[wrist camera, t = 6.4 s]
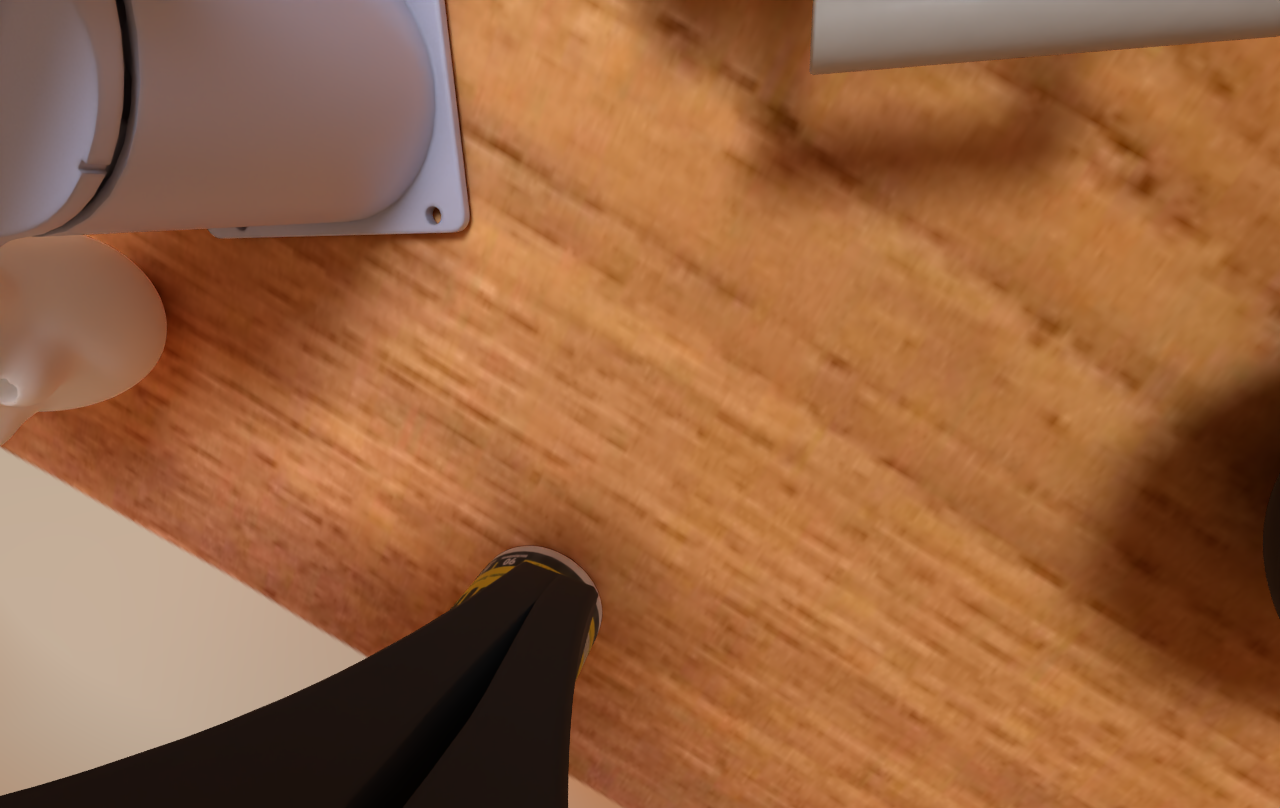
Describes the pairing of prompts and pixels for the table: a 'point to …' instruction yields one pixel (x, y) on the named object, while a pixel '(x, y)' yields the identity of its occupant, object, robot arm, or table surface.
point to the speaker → (1273, 545)
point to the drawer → (1018, 28)
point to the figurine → (72, 326)
